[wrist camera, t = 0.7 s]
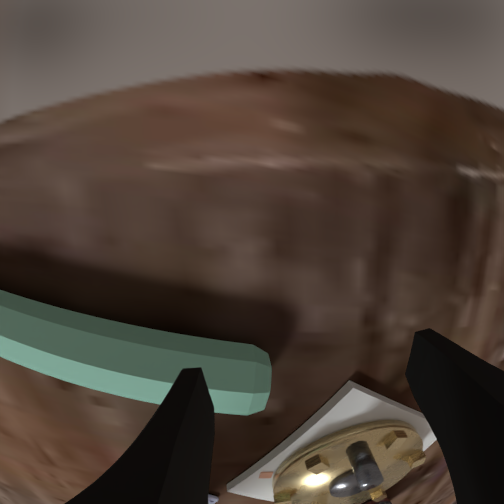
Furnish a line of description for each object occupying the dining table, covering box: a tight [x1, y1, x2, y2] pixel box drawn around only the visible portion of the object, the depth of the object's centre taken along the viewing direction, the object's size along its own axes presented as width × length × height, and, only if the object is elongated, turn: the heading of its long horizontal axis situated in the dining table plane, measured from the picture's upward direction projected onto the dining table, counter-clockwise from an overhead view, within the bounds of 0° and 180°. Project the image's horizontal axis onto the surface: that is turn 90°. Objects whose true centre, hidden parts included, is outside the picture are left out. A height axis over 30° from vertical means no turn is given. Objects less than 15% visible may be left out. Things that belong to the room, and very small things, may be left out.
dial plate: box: [227, 380, 437, 502], centre depth 25 cm, size 18×18×1 cm
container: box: [0, 290, 272, 415], centre depth 17 cm, size 6×6×25 cm
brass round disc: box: [272, 420, 426, 504], centre depth 22 cm, size 16×16×6 cm
